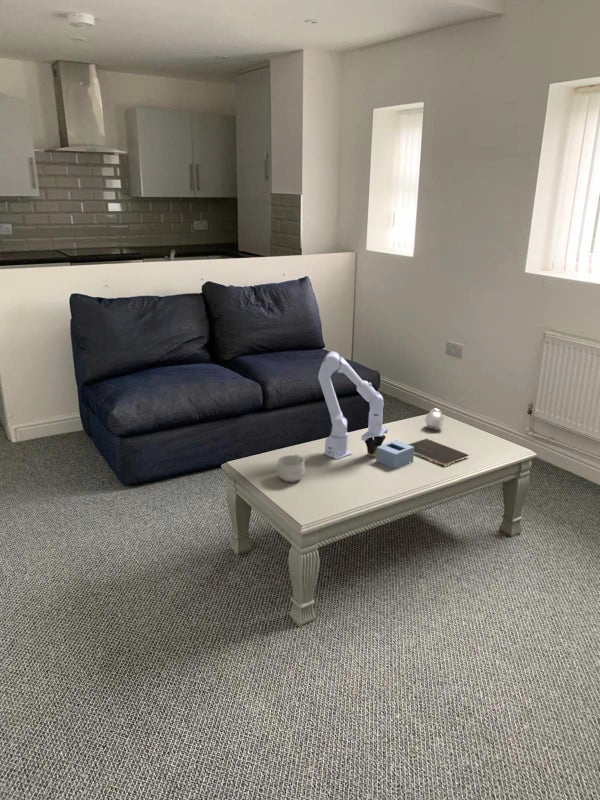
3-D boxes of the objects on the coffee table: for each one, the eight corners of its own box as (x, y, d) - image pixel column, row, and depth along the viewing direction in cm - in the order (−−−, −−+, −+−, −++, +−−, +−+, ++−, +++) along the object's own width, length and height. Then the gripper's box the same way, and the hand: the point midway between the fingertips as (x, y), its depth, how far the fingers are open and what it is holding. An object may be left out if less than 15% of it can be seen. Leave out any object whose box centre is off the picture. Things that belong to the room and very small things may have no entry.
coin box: (394, 468, 259) (395, 454, 257) (376, 461, 266) (377, 446, 264) (413, 461, 267) (414, 446, 265) (394, 454, 274) (395, 440, 272)
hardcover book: (444, 468, 262) (444, 463, 261) (402, 450, 279) (403, 445, 278) (468, 459, 272) (468, 454, 271) (426, 442, 289) (427, 438, 288)
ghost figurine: (447, 428, 305) (449, 408, 302) (437, 433, 298) (439, 413, 295) (431, 424, 311) (432, 404, 308) (420, 429, 304) (422, 409, 301)
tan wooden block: (375, 458, 270) (376, 448, 268) (367, 454, 273) (367, 444, 272) (379, 456, 271) (380, 446, 270) (371, 453, 275) (371, 443, 274)
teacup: (295, 487, 242) (296, 467, 239) (271, 480, 247) (271, 461, 244) (313, 473, 253) (313, 455, 251) (289, 468, 258) (289, 449, 256)
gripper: (371, 428, 260) (369, 459, 264) (393, 421, 270) (391, 450, 274) (358, 424, 265) (356, 454, 269) (381, 416, 274) (379, 446, 279)
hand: (373, 452), depth 272 cm, fingers open, 4 cm apart
